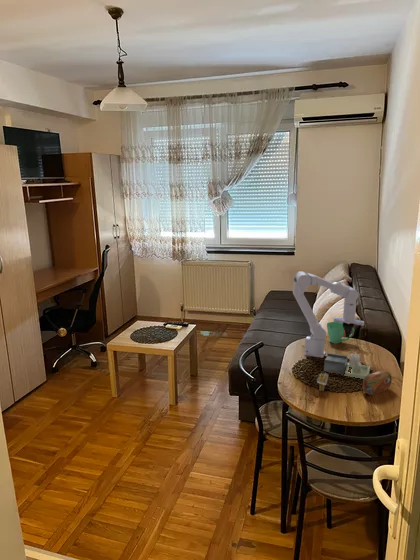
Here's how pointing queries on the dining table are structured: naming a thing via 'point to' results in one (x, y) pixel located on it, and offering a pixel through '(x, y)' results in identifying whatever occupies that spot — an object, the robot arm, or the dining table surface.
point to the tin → (376, 382)
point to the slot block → (335, 363)
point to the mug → (336, 332)
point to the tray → (364, 373)
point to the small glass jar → (322, 383)
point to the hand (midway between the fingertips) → (347, 337)
